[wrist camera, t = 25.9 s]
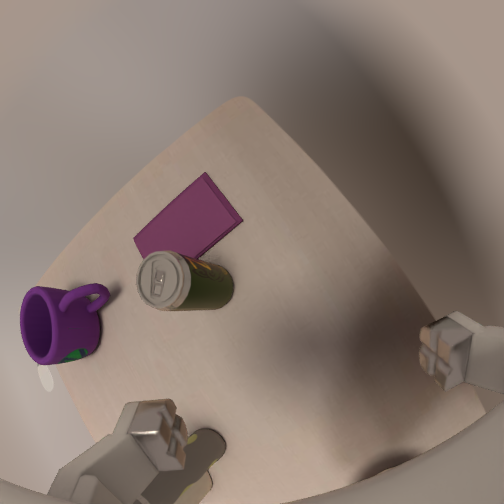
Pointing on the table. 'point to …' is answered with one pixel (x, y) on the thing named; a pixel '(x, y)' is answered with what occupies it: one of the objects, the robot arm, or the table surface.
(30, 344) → the mug
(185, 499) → the paper towel roll
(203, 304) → the beer can
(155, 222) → the flat purple rectangular slab
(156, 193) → the table surface
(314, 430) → the table surface
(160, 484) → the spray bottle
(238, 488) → the table surface
